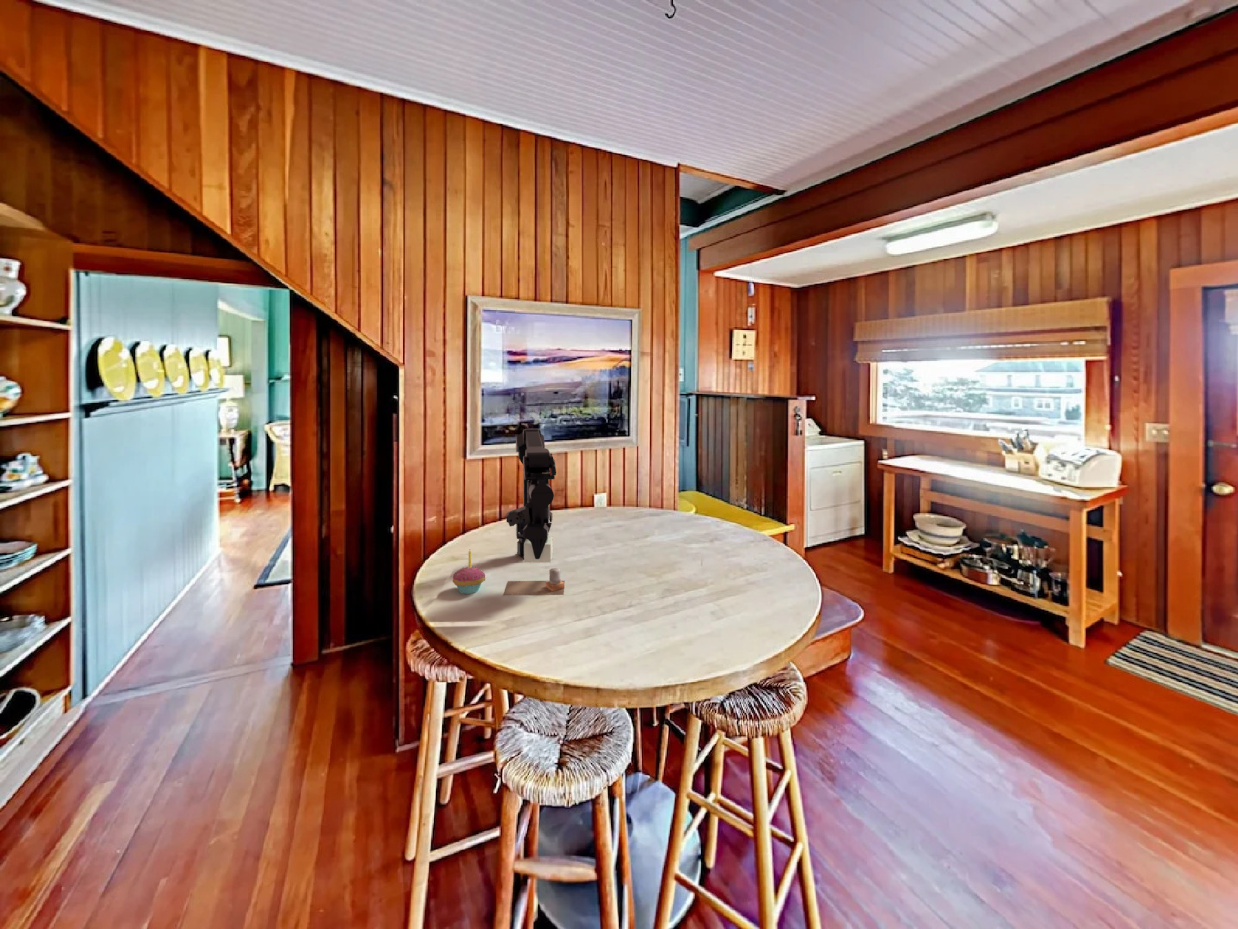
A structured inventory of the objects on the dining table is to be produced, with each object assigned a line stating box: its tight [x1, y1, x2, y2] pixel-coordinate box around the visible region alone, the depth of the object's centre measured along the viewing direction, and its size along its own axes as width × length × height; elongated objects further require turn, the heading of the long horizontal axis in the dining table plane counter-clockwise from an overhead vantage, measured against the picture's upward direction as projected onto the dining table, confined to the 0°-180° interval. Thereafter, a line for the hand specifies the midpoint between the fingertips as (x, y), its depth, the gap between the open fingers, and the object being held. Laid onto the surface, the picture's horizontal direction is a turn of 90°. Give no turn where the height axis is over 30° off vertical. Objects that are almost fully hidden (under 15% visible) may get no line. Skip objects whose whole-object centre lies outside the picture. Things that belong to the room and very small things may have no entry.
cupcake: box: [452, 550, 486, 594], centre depth 151 cm, size 9×8×12 cm
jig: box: [502, 567, 566, 596], centre depth 153 cm, size 16×10×6 cm, turn 94°
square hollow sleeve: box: [523, 536, 554, 564], centre depth 152 cm, size 7×7×5 cm
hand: (538, 554), depth 152 cm, fingers closed on square hollow sleeve, 7 cm apart
